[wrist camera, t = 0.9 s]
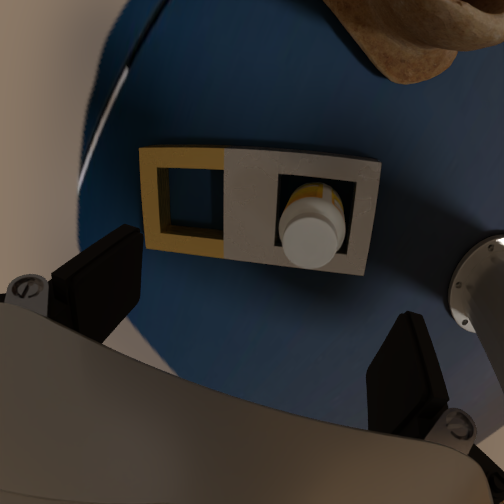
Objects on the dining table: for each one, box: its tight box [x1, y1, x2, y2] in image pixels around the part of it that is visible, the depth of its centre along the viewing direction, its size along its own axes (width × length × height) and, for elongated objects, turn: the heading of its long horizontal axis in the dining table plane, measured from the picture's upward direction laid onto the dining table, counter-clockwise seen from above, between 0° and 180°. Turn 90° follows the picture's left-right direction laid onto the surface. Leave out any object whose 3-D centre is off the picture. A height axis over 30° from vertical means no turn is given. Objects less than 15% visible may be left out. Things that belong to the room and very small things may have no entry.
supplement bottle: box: [279, 182, 346, 269], centre depth 27 cm, size 5×5×10 cm
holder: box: [139, 145, 381, 276], centre depth 31 cm, size 23×11×3 cm, turn 89°
